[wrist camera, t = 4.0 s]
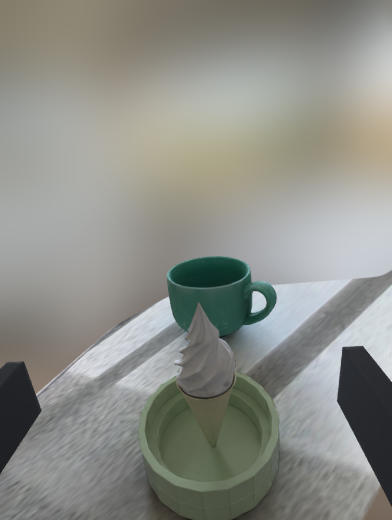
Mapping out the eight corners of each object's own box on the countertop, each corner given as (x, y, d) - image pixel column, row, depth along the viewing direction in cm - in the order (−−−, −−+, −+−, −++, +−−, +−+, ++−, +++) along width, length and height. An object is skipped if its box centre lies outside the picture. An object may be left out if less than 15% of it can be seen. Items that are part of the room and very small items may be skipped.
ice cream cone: (198, 484, 24) (176, 328, 18) (178, 433, 28) (157, 296, 23) (251, 457, 25) (245, 307, 20) (225, 413, 30) (214, 281, 24)
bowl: (295, 424, 28) (296, 393, 27) (243, 568, 19) (240, 531, 18) (193, 381, 35) (190, 354, 34) (117, 472, 26) (108, 440, 24)
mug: (157, 331, 46) (148, 277, 42) (205, 298, 54) (201, 251, 51) (249, 373, 35) (246, 305, 32) (290, 324, 44) (292, 267, 41)
